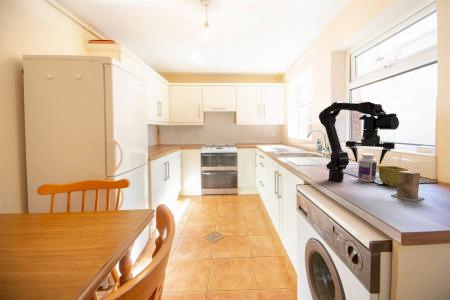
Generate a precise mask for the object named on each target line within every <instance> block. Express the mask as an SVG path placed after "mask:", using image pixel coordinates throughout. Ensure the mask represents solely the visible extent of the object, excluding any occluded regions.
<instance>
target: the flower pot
mask: <svg viewBox="0 0 450 300" xmlns="http://www.w3.org/2000/svg"><path fill="white" fill-rule="evenodd" d="M399 171H409V169H408V168H404V167H400V166H396V165H395V166H393V165H378V174H379V179H380V182H381V183H382V184H383V183H385V184H384V185H386V184H387V185H386V186H388V185H389V187H398V177H399Z"/></svg>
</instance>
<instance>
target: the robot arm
mask: <svg viewBox="0 0 450 300" xmlns="http://www.w3.org/2000/svg"><path fill="white" fill-rule="evenodd" d="M343 110H344V111H352V112H358V113H359V114H363V115H361V116H360V117H359V118H358V119H359V120H360V121H363V128H362V136H361V139H360V141H361V142H360V141H357V140H347V141H346V142H345V147H346V148H348V149H350V150H351V152H352V154H353V157H354V159H355V160H354V161H355V163H358V161H359V159H358V158H359V157H358V155H359V154H358V147H369V148H370V147H371V148H382V149H381V152H380V158H379V161H378V162H379V163H378V165H381V164H382V162H383V160H384V157H385V155H386V154H387V153H388V152H391V150H395V146H396V145H395V144H396V143H395V142H391V141H384V142H383V143H382V142H381V135H378V134H379V130H382V131H383V130H387V131H388V130H389V131H390V130H391V131H393V130H397V129H398V128H399V125H400V121H399V118H398V117H397V113H395V112H393V113H392V112H391V113H387V112H386V111H385V110H384V109H383V105H382V103H380V102H377V101H363V102H358V103H355V102H354V103H353V102H342V101H335V102H333V103H331V104H330V105H329V106H327V107H326V108H324V109H323V110H321V111H320V113H319V114H318V119H319V121H320V124H321V125H322V126H323V127H324V128H325V133H326V136H327V139H328V144H329V147H330V150H331V154H330V156H329V157H330V161H329V162H328V163H327V164H326V169H327V170H328V178H327V181H330V182H331V181H332V182H337V183H338V182H339V183H342V181H344V179H345V172H344V170H346V169H347V166H348V165H349V163H350V158H349V153H348V152H347V151H344V150H343V149H342V145H341V143H340V139H339V134H338V133H337V129H336V121H337V116H338V115H340V113H341V111H343Z"/></svg>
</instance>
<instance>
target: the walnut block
mask: <svg viewBox="0 0 450 300" xmlns="http://www.w3.org/2000/svg"><path fill="white" fill-rule="evenodd" d="M420 176H421V172H417V171H409V170H408V171H399V177H398V186H397V187H396V188H397V189H396V194H397V195H398V196H402V197H406V198H410V199H413V198H417V197H418V196H419V191H420V189H419V188H420V180H421V177H420Z"/></svg>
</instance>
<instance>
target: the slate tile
mask: <svg viewBox="0 0 450 300" xmlns="http://www.w3.org/2000/svg"><path fill="white" fill-rule="evenodd" d="M390 197H393V198H396V199H400V200H405V201H409V202H412V203H414V202H419V201H422V200H425V197H423V196H422V197H421V196H419V195H418V197H417V198H413V199H410V198H406V197H402V196H398V195H397V193H392V194H390Z"/></svg>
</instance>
